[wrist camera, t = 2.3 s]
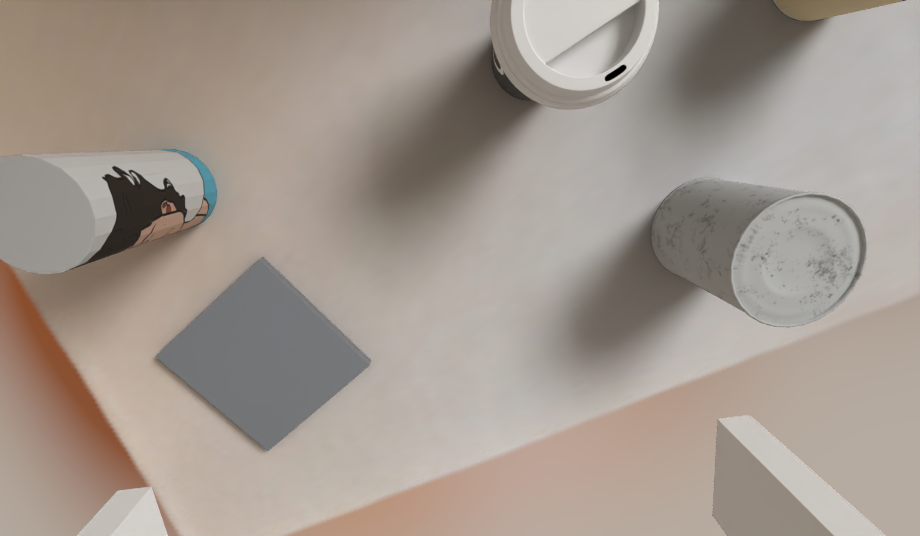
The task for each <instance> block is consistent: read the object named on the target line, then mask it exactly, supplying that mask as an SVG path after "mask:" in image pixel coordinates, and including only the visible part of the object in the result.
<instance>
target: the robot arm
mask: <svg viewBox="0 0 920 536" xmlns="http://www.w3.org/2000/svg"><path fill="white" fill-rule="evenodd" d="M715 457H716V458H715V476H714V495H713V517H714V518H715V519H716V521H717V522H718V524H719V525H720V526H721V528H722V529H723V531H724V532H725V533H726V535H727V536H886V535H884V533H882V532H881V531H880V530H879V529H878V528H877V527H876V526H874V525H873V524H872V523H871V522H870V521H869V520H868V519H867V518H865V517H864V516H863V515H862V514H861V513H860V512H859V511H858V510H856V509H855V508H854V507H853V506H852V505H851V504H850V503H848V502H847V501H846V500H845V499H844V498H843V497H842V496H841V495H839V494H838V493H837V492H836V491H835V490H834V489H833V488H831V487H830V486H829V485H828V484H827V483H826V482H825V481H824V480H823V479H821V478H820V477H819V476H818V475H817V474H816V473H815V472H813V471H812V470H811V469H810V468H809V467H808V466H807V465H806V464H804V463H803V462H802V461H801V460H800V459H799V458H798V457H796V456H795V455H794V454H793V453H792V452H791V451H790V450H789V449H787V448H786V447H785V446H784V445H783V444H782V443H781V442H780V441H778V440H777V439H776V438H775V437H774V436H773V435H772V434H771V433H769V432H768V431H767V430H766V429H765V428H764V427H763V426H761V425H760V424H759V423H758V422H757V421H756V420H754V418H752V417H751V416H750V415H748V416H739V417H730V418H722V419H717V438H716V456H715ZM77 536H168V534H167V531H166V529H165V526H164V523H163V520H162V517H161V514H160V511H159V508H158V505H157V502H156V499H155V496H154V493H153V490H152V487H145V488H137V489H128V490H120V491H117V492H116V493H115V494H114V495H113V496H112V497H111V499H110V500H109V501H108V502H107V503H106V504H105V505H104V506H103V507H102V509H100V511H99V512H98V513H97V514H96V515H95V516H94V517H93V518H92V519H91V521H90V522H89V523H88V524H87V525H86V526H85V527H84V528H83V529H82V530H81V531H80V533H79V534H78V535H77Z"/></svg>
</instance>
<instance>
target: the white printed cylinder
mask: <svg viewBox="0 0 920 536" xmlns="http://www.w3.org/2000/svg"><path fill="white" fill-rule="evenodd" d="M216 198H217V189H216V185H215V181H214V178H213V176H212V175H211V173H210V171H209V170H208V168H207V167H206V166H205V165H204V164H203V163H202V162H201V161H200V160H199V159H198V158H196V157H194V156H192V155H190V154H188V153H187V152H183V151H178V150H173V149H170V150H141V151H113V152H84V153H56V154H27V155H14V156H5V157H0V259H1V260H3V261H4V262H5V263H7V264H9V265H12V266H14V267H16V268H18V269H20V270H23V271H26V272H32V273H37V274H43V275H45V274H53V273H62V272H65V271H68V270H71V269H73V268H76V267H79V266H82V265H85V264H88V263H90V262H93V261H96V260H99V259H102V258H105V257H107V256H110V255H113V254H116V253H119V252H122V251H124V250H127V249H130V248H133V247H136V246H139V245H141V244H144V243H147V242H150V241H153V240H156V239H158V238H161V237H164V236H167V235H170V234H173V233H176V232H178V231H181V230H184V229H187V228H190V227H193V226H195V225H197V224H199V223H201V222H203V221H204V220H205V219H206V218H207V217H208V216H209V215H210V214H211V213H212V211H213V209H214V207H215V204H216Z"/></svg>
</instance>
